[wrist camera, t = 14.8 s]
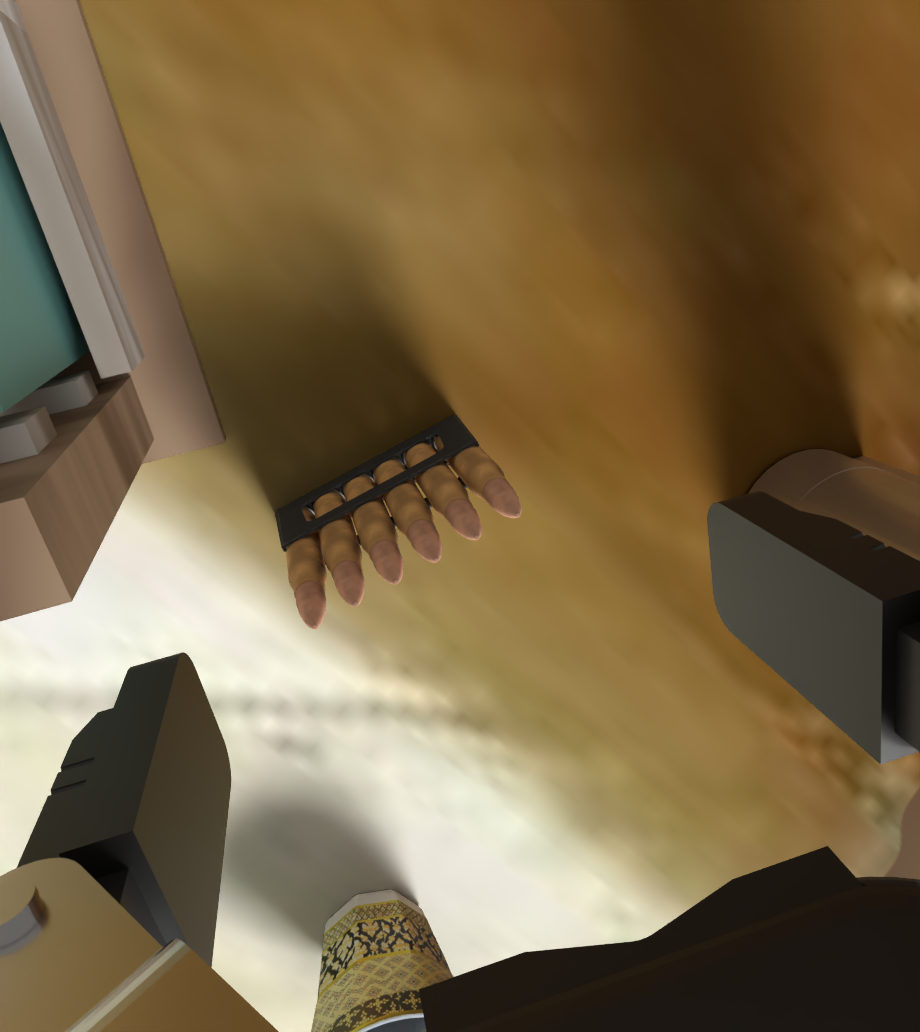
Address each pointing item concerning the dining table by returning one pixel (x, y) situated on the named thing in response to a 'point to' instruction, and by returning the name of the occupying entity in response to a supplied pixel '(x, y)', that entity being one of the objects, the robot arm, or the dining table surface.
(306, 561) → the ammunition clip
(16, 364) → the teal door
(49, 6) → the hinge frame
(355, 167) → the dining table surface
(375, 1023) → the ceramic cup
